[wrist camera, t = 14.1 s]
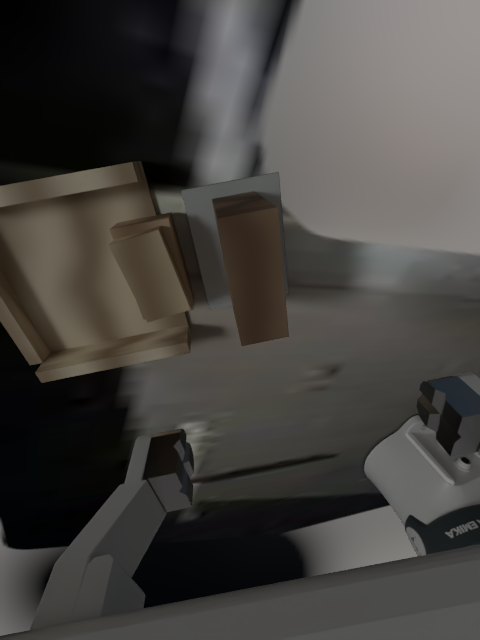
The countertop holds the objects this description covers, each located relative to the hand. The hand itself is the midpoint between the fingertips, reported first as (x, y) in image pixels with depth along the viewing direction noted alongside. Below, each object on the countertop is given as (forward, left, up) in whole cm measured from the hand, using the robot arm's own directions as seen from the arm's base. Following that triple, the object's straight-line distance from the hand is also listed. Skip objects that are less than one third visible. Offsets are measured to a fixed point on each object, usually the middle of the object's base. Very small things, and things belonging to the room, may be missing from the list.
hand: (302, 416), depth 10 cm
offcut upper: (+7, 0, -17) cm, 18 cm away
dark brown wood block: (0, 0, -19) cm, 19 cm away
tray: (+13, 0, -20) cm, 24 cm away
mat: (0, 0, -20) cm, 20 cm away
